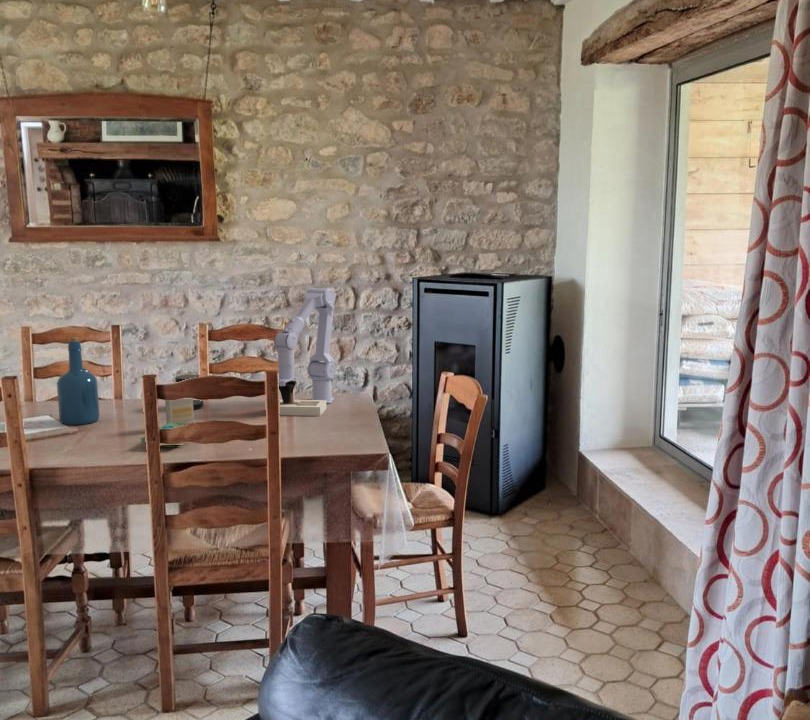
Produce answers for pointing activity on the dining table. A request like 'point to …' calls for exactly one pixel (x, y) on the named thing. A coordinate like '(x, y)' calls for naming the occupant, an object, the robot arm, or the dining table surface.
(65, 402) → the wine bottle
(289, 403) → the keyhole slider
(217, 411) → the dining table surface
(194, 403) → the supplement container
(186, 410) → the supplement box
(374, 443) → the dining table surface
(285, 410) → the cream rectangular tray
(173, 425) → the puzzle game
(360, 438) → the dining table surface
